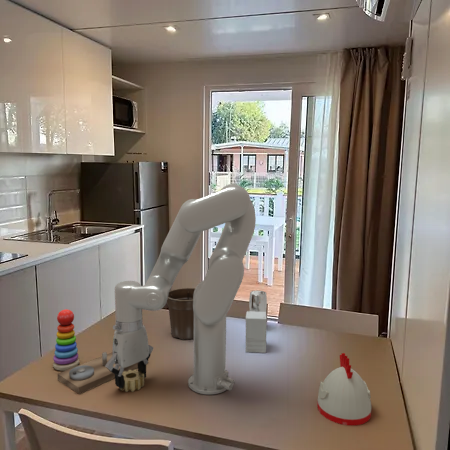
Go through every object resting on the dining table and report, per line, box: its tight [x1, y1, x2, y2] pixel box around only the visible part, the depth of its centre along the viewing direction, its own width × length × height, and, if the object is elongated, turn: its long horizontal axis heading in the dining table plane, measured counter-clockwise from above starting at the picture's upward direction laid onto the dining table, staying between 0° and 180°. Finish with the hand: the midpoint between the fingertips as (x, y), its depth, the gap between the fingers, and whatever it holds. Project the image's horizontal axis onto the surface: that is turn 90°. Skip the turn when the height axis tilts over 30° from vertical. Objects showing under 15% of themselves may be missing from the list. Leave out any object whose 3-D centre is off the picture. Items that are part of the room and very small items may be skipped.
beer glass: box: [248, 289, 268, 313], centre depth 164 cm, size 7×7×15 cm
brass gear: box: [119, 368, 145, 393], centre depth 121 cm, size 7×7×3 cm
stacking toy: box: [52, 308, 80, 372], centre depth 132 cm, size 8×8×19 cm
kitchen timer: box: [316, 352, 372, 426], centre depth 110 cm, size 14×14×15 cm
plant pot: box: [166, 287, 196, 340], centre depth 159 cm, size 16×16×16 cm
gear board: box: [57, 351, 138, 395], centre depth 129 cm, size 12×25×6 cm, turn 140°
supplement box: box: [244, 310, 268, 354], centre depth 147 cm, size 7×7×13 cm
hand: (131, 381), depth 121 cm, fingers closed on brass gear, 7 cm apart
